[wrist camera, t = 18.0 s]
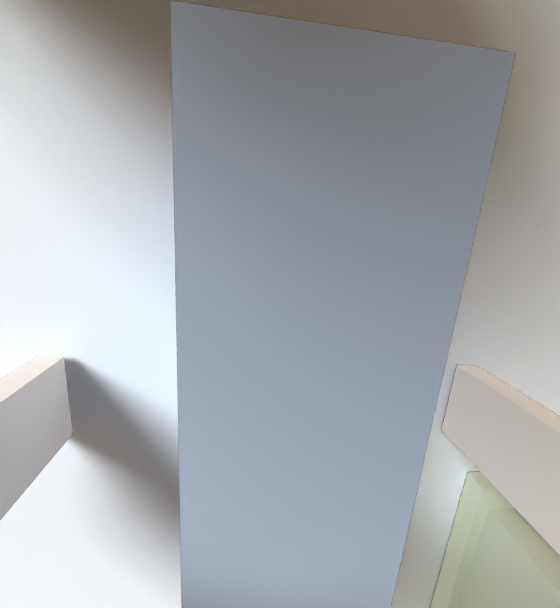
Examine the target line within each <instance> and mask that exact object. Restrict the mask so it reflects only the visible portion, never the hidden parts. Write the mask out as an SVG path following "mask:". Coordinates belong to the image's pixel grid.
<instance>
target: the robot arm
mask: <svg viewBox="0 0 560 608" xmlns="http://www.w3.org/2000/svg"><path fill="white" fill-rule="evenodd" d="M442 432H443V433H444V434H445V435H446V436H447V437H448V438H449V439H450V440H451V441H452V442H453V443H454V444H455V445H456V446H457V447H458V448H459V449H460V451H461V452H462V453H463V454H464V455H465V456H466V457H467V458H468V459H469V460H470V461H471V462H472V463H473V464H474V465H475V466H476V467H477V468H478V469H479V471H480V472H481V473H482V474H483V475H484V476H485V477H486V478H487V479H488V480H489V481H490V482H491V483H492V484H493V485H494V486H495V487H496V488H497V489H498V491H499V492H500V493H501V494H502V495H503V496H504V497H505V498H506V499H507V500H508V501H509V502H510V503H511V504H512V505H513V506H514V507H515V508H516V510H517V511H518V512H519V513H520V514H521V515H522V516H523V517H524V518H525V519H526V520H527V521H528V522H529V523H530V524H531V525H532V526H533V527H534V528H535V530H536V531H537V532H538V533H539V534H540V535H541V536H542V537H543V538H544V539H545V540H546V541H547V542H548V543H549V544H550V545H551V546H552V547H553V548H554V550H555V551H556V552H557V553H558V554H559V555H560V416H559V415H558V414H556V413H554V412H553V411H551V410H549V409H548V408H546V407H544V406H543V405H541V404H540V403H538V402H536V401H535V400H533V399H531V398H530V397H528V396H526V395H525V394H523V393H521V392H520V391H518V390H517V389H515V388H513V387H512V386H510V385H508V384H507V383H505V382H503V381H502V380H500V379H498V378H497V377H495V376H493V375H492V374H490V373H489V372H487V371H485V370H484V369H482V368H480V367H479V366H477V365H457V367H456V371H455V376H454V380H453V384H452V388H451V392H450V397H449V401H448V405H447V409H446V413H445V418H444V422H443V426H442ZM72 434H73V433H72V424H71V415H70V407H69V398H68V390H67V381H66V372H65V364H64V357H35V358H33V359H32V360H30V361H29V362H27V363H25V364H24V365H22V366H21V367H19V368H17V369H16V370H14V371H13V372H11V373H9V374H8V375H6V376H4V377H3V378H1V379H0V520H1V519H2V518H3V517H4V515H5V514H6V513H7V512H8V511H9V509H10V508H11V507H12V506H13V505H14V503H15V502H16V501H17V500H18V499H19V497H20V496H21V495H22V494H23V493H24V491H25V490H26V489H27V488H28V487H29V485H30V484H31V483H32V482H33V481H34V480H35V478H36V477H37V476H38V475H39V474H40V472H41V471H42V470H43V469H44V468H45V466H46V465H47V464H48V463H49V462H50V460H51V459H52V458H53V457H54V456H55V454H56V453H57V452H58V451H59V450H60V448H61V447H62V446H63V445H64V444H65V442H66V441H67V440H68V439H69V438H70V437H71V435H72Z"/></svg>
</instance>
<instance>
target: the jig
mask: <svg viewBox="0 0 560 608" xmlns="http://www.w3.org/2000/svg"><path fill="white" fill-rule="evenodd" d="M430 608H560V555H559V554H558V553H557V552H556V551H555V550H554V548H553V547H552V546H551V545H550V544H549V543H548V542H547V541H546V540H545V539H544V538H543V537H542V536H541V535H540V534H539V533H538V532H537V531H536V530H535V528H534V527H533V526H532V525H531V524H530V523H529V522H528V521H527V520H526V519H525V518H524V517H523V516H522V515H521V514H520V513H519V512H518V511H517V510H516V508H515V507H514V506H513V505H512V504H511V503H510V502H509V501H508V500H507V499H506V498H505V497H504V496H503V495H502V494H501V493H500V492H499V491H498V489H497V488H496V487H495V486H494V485H493V484H492V483H491V482H490V481H489V480H488V479H487V478H486V477H485V476H484V475H483V474H482V473H481V472H468V473H467V476H466V480H465V484H464V487H463V491H462V495H461V498H460V502H459V505H458V509H457V513H456V516H455V520H454V523H453V527H452V531H451V534H450V538H449V541H448V545H447V549H446V552H445V556H444V560H443V563H442V567H441V570H440V574H439V578H438V581H437V585H436V588H435V592H434V596H433V599H432V603H431V606H430Z"/></svg>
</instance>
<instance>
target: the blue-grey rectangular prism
mask: <svg viewBox="0 0 560 608" xmlns="http://www.w3.org/2000/svg"><path fill="white" fill-rule="evenodd" d="M170 16H171V69H172V123H173V176H174V229H175V282H176V335H177V388H178V441H179V494H180V547H181V600H182V608H391V604H392V599H393V595H394V590H395V586H396V581H397V577H398V573H399V568H400V564H401V559H402V555H403V550H404V546H405V542H406V537H407V533H408V528H409V524H410V519H411V515H412V511H413V506H414V502H415V497H416V493H417V488H418V484H419V480H420V475H421V471H422V466H423V462H424V457H425V453H426V449H427V444H428V440H429V435H430V431H431V426H432V422H433V417H434V413H435V409H436V404H437V400H438V395H439V391H440V386H441V382H442V378H443V373H444V369H445V364H446V360H447V355H448V351H449V347H450V342H451V338H452V333H453V329H454V324H455V320H456V316H457V311H458V307H459V302H460V298H461V293H462V289H463V285H464V280H465V276H466V271H467V267H468V262H469V258H470V254H471V249H472V245H473V240H474V236H475V231H476V227H477V223H478V218H479V214H480V209H481V205H482V200H483V196H484V192H485V187H486V183H487V178H488V174H489V169H490V165H491V161H492V156H493V152H494V147H495V143H496V138H497V134H498V129H499V125H500V121H501V116H502V112H503V107H504V103H505V98H506V94H507V90H508V85H509V81H510V76H511V72H512V67H513V63H514V59H515V54H516V53H515V52H508V51H501V50H495V49H488V48H482V47H475V46H469V45H462V44H455V43H449V42H442V41H436V40H429V39H423V38H416V37H409V36H403V35H396V34H390V33H383V32H376V31H370V30H363V29H357V28H350V27H344V26H337V25H330V24H324V23H317V22H311V21H304V20H297V19H291V18H284V17H278V16H271V15H265V14H258V13H251V12H245V11H238V10H232V9H225V8H218V7H212V6H205V5H199V4H192V3H186V2H179V1H172V0H170Z"/></svg>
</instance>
